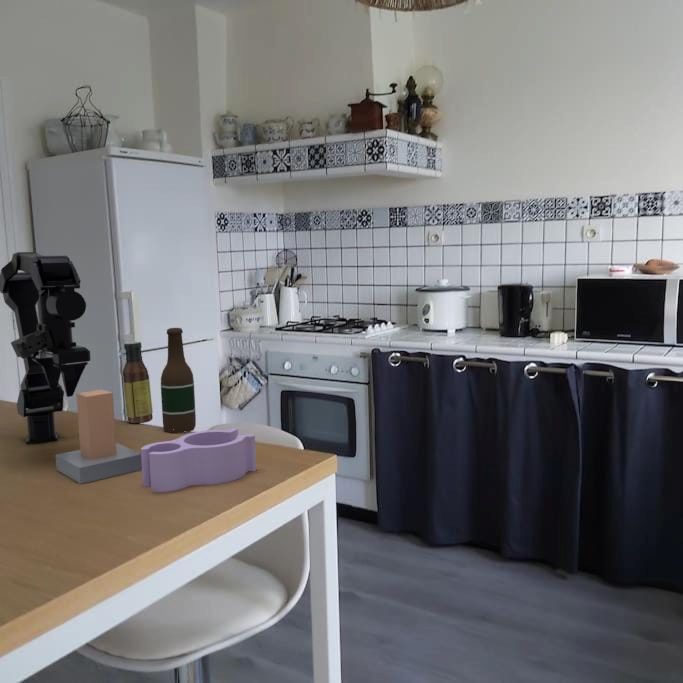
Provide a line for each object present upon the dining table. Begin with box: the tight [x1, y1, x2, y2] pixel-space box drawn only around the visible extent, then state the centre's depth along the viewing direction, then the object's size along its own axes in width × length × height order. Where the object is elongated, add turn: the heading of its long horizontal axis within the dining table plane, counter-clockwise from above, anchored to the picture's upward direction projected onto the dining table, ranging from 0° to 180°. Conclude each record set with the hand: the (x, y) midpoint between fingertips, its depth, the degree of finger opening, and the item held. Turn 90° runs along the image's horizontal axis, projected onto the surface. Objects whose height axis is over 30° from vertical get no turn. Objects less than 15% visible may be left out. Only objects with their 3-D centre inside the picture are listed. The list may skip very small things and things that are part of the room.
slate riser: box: [55, 442, 142, 485], centre depth 132 cm, size 12×12×3 cm
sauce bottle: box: [122, 341, 154, 424], centre depth 171 cm, size 6×6×20 cm
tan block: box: [75, 388, 117, 460], centre depth 132 cm, size 5×5×12 cm
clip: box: [140, 427, 257, 493], centre depth 127 cm, size 20×12×7 cm, turn 128°
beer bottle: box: [160, 327, 197, 434], centre depth 161 cm, size 8×8×24 cm
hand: (61, 393), depth 142 cm, fingers open, 9 cm apart
